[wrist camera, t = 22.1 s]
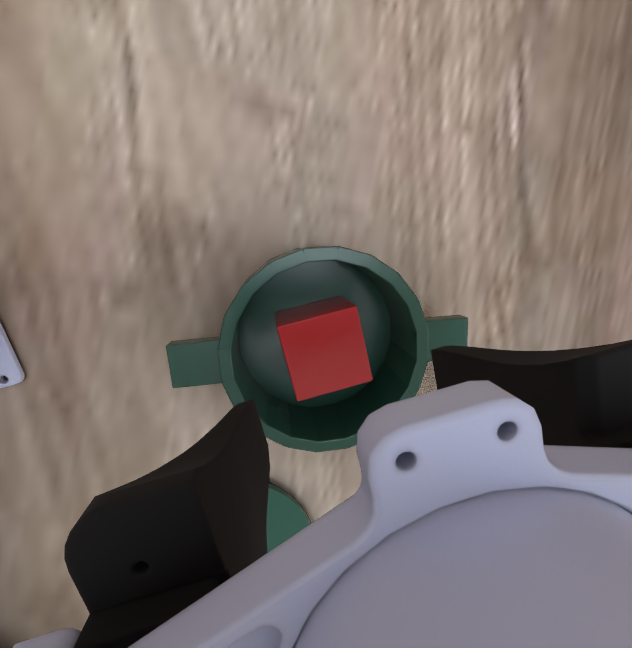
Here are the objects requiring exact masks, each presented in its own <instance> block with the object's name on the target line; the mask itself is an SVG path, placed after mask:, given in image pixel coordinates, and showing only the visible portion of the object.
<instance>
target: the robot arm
mask: <svg viewBox="0 0 632 648" xmlns="http://www.w3.org/2000/svg"><path fill="white" fill-rule="evenodd" d="M431 355H432V361H433V366H434V372H435V378H436V384H437V390H436V391H432V392H429V393H425V394H422V395H418V396H415V397H411V398H408V399H404V400H401V401H397V402H394V403H390V404H387V405H385V406H383V407H381V408H380V409H378V410H376V411H374V412H373V413H371V414H369V415H368V416H367V418H366V419H365V421H364V423H363V424H362V426H361V427H360V429H359V430H358V432H357V455H358V459H359V463H360V467H361V473H362V481H361V486H360V487H359V489H358V491H357V492H356V493H355V494H354V495H353V496H351V497H350V498H348V499H347V500H345V501H344V502H342V503H341V504H339V505H338V506H336V507H335V508H333V509H332V510H330V511H329V512H328V513H326V514H325V515H323V516H322V517H320V518H319V519H317V520H316V521H314V522H313V523H311V524H310V525H308V526H307V527H305V528H304V529H302V530H301V531H299V532H298V533H296V534H295V535H293V536H292V537H291V538H289V539H288V540H286V541H285V542H283V543H282V544H280V545H279V546H277V547H276V548H274V549H273V550H271V551H270V552H267V531H266V525H267V504H268V490H269V474H270V462H269V451H268V444H267V441H266V437H265V434H264V431H263V428H262V424H261V421H260V418H259V415H258V412H257V408H256V405H255V402H254V399H253V400H249V401H246V402H242V403H238V404H237V405H236V406H234V407H233V408H232V409H231V410H230V411H229V412H228V413H227V414H226V415H225V416H224V417H223V419H222V420H221V421H220V422H219V423H218V424H217V425H216V426H215V427H214V428H212V429H211V430H210V431H209V432H208V433H207V434H206V435H205V436H204V437H203V438H202V439H200V440H199V441H198V442H197V443H196V444H194V445H193V446H192V447H190V448H189V449H188V450H186V451H185V452H184V453H182V454H181V455H179V456H178V457H176V458H175V459H173V460H171V461H170V462H168V463H166V464H165V465H163V466H162V467H160V468H158V469H156V470H154V471H153V472H151V473H149V474H147V475H145V476H143V477H141V478H139V479H137V480H134V481H132V482H130V483H128V484H125V485H123V486H120V487H118V488H115V489H113V490H110V491H108V492H105V493H103V494H100V495H98V496H95V497H94V499H93V500H92V501H91V503H90V504H89V506H88V507H87V509H86V510H85V511H84V513H83V514H82V516H81V517H80V519H79V520H78V521H77V523H76V524H75V526H74V527H73V529H72V530H71V531H70V533H69V536H68V538H67V541H66V544H65V562H66V565H67V568H68V571H69V573H70V575H71V577H72V579H73V581H74V583H75V585H76V587H77V589H78V591H79V593H80V595H81V597H82V599H83V601H84V603H85V605H86V607H87V609H88V611H89V613H90V615H89V617H88V619H87V621H86V623H85V625H84V627H83V629H82V631H81V632H80V631H79V630H77V629H74V628H65V629H60V630H57V631H54V632H51V633H48V634H44V635H41V636H38V637H35V638H32V639H28V640H25V641H22V642H19V643H16V644H15V645H14V646H13V648H632V340H629V341H624V342H619V343H614V344H608V345H601V346H595V347H588V348H579V349H568V350H556V351H510V350H496V349H485V348H476V347H467V346H453V345H451V346H443V347H439V348H436V349H432V350H431ZM3 375H4V376H6V377H7V378H8V381H6V380H5V379H4V378H3ZM24 377H25V375H24V372H23V370H22V367H21V365H20V363H19V361H18V359H17V357H16V355H15V353H14V350H13V348H12V346H11V344H10V342H9V340H8V338H7V335H6V333H5V331H4V329H3V327H2V325H1V323H0V389H1V388H4V387H8V386H12V385H16V384H18V383H20V382H22V381H23V380H24Z"/></svg>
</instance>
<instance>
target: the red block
mask: <svg viewBox="0 0 632 648" xmlns="http://www.w3.org/2000/svg"><path fill="white" fill-rule="evenodd" d="M276 327H277V331H278V335H279V339H280V342H281V346H282V349H283V353H284V357H285V360H286V364H287V367H288V371H289V375H290V378H291V382H292V385H293V389H294V392H295V396H296V400H297V401H302V400H305V399H309V398H312V397H316V396H319V395H323V394H327V393H330V392H334V391H337V390H341V389H344V388H348V387H351V386H355V385H359V384H362V383H366V382H369V381H372V380H373V378H372V373H371V369H370V364H369V360H368V355H367V350H366V346H365V341H364V337H363V332H362V328H361V323H360V318H359V314H358V309H357V306H356V305H354V304H353V303H351V302H350V301H348V300H347V299H345V298H344V297H342V296H341V295H340V296H336V297H332V298H328V299H324V300H321V301H317V302H313V303H309V304H305V305H302V306H298V307H294V308H290V309H286V310H282V311H279V312H276Z"/></svg>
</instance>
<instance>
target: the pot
mask: <svg viewBox="0 0 632 648" xmlns="http://www.w3.org/2000/svg"><path fill="white" fill-rule="evenodd" d="M340 295H341V296H342V297H344V298H345V299H347V300H348V301H350V302H351V303H353V304H354V305H356V306H357V309H358V314H359V318H360V323H361V328H362V332H363V337H364V341H365V346H366V350H367V355H368V360H369V364H370V369H371V373H372V378H373V380H372V381H369V382H366V383H362V384H359V385H355V386H351V387H348V388H344V389H341V390H337V391H334V392H330V393H327V394H323V395H319V396H316V397H312V398H309V399H305V400H302V401H297V400H296V396H295V392H294V389H293V385H292V382H291V378H290V375H289V371H288V367H287V364H286V360H285V357H284V353H283V349H282V346H281V342H280V339H279V335H278V331H277V327H276V312H279V311H282V310H286V309H290V308H294V307H298V306H302V305H305V304H309V303H313V302H317V301H321V300H324V299H328V298H332V297H336V296H340ZM467 335H468V318H467V317H464V316H461V315H451V316H440V317H429V318H425V317H424V314H423V311H422V308H421V305H420V302H419V300H418V298H417V297H416V295H415V294H414V293H413V291H412V290H411V289H410V287H409V286H408V285H407V283H406V282H405V281H404V279H403V278H402V277H401V275H400V274H399V273H398V272H396V271H395V270H393V269H392V268H390V267H389V266H387V265H386V264H384V263H383V262H381V261H380V260H378V259H377V258H375V257H374V256H372V255H370V254H366V253H362V252H359V251H355V250H351V249H347V248H344V247H340V246H324V247H309V248H297V249H294V250H291V251H289V252H286V253H284V254H282V255H279V256H277V257H274V258H272V259H270V260H268V261H267V262H266V263H265V264H264V265H263V266H261V267H260V268H259V269H258V270H257V271H256V272H254V273H253V274H252V275H251V276H250V277H249V278H248V279H247V280H246V281H245V283H244V284H243V285H242V287H241V288H240V290H239V292H238V293H237V295H236V297H235V298H234V300H233V302H232V303H231V305H230V307H229V309H228V310H227V312H226V314H225V316H224V319H223V324H222V328H221V333H220V337H210V338H200V339H189V340H178V341H171V342H170V343H169V344H168V345H167V346H166V349H167V356H168V362H169V368H170V374H171V380H172V386H173V388H179V387H189V386H198V385H208V384H217V383H222V384H223V386H224V388H225V390H226V392H227V394H228V396H229V398H230V400H231V402H232V404H233V406H236V405H237V404H238V403H242V402H246V401H249V400H253V399H254V402H255V405H256V408H257V412H258V415H259V418H260V421H261V424H262V428H263V431H264V434H265V437H267V438H269V439H271V440H273V441H275V442H277V443H279V444H281V445H283V446H285V447H286V446H287V447H288V448H294V449H300V450H306V451H313V452H317V451H318V452H323V451H330V450H338V449H346V448H350V447H352V446H355V445H357V432H358V430H359V429H360V427H361V426H362V424H363V423H364V421H365V419H366V418H367V416H368V415H369V414H371V413H373V412H374V411H376V410H378V409H380V408H381V407H383V406H385V405H387V404H390V403H394V402H397V401H401V400H404V399H408V398H411V397H414V396H415V395H416V393H417V392H418V390H419V388H420V385H421V382H422V379H423V376H424V372H425V369H426V366H427V363H428V361H432V355H431V350H432V349H436V348H439V347H443V346H451V345H453V346H467Z"/></svg>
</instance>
